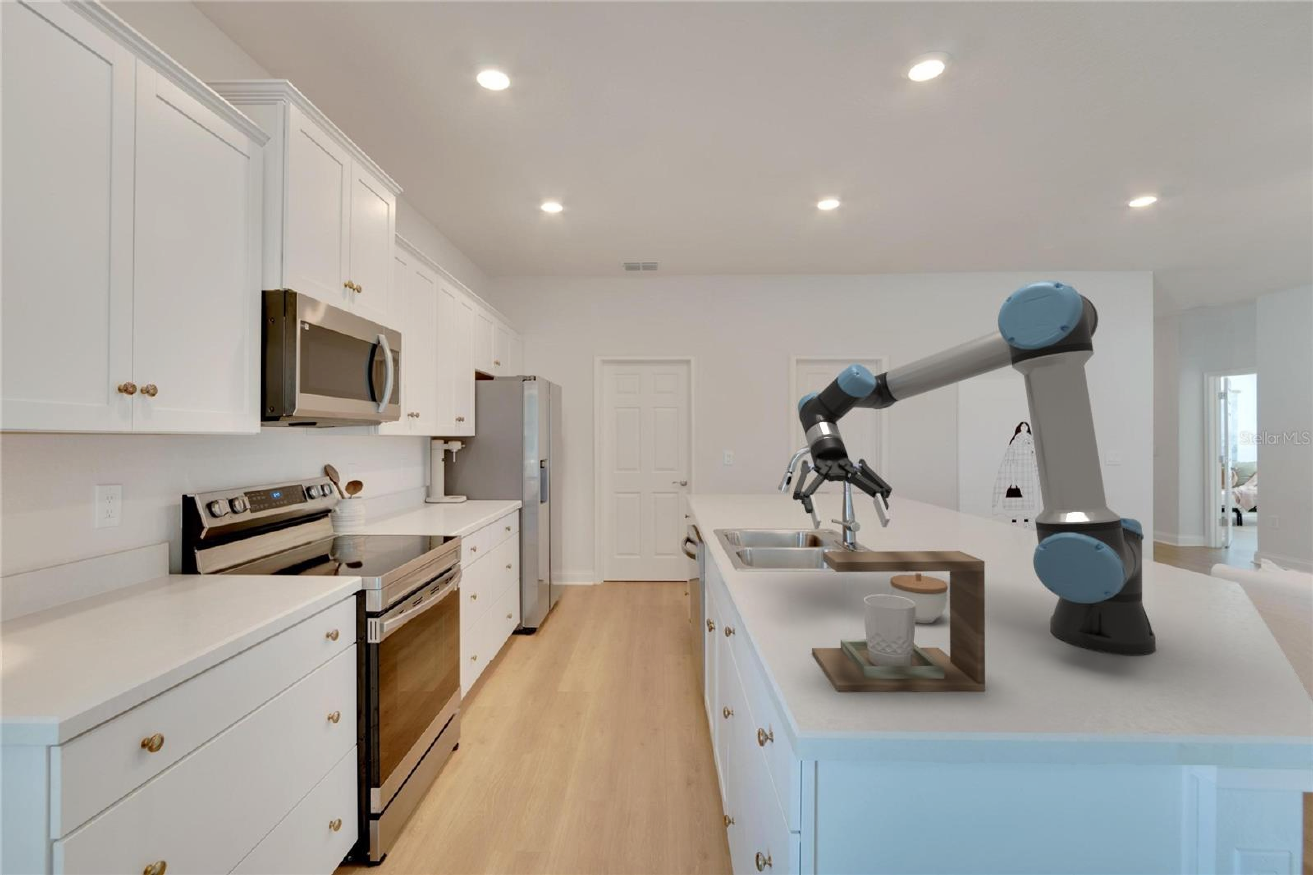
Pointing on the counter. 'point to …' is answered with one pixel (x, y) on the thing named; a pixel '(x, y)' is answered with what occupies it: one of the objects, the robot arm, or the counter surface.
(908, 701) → the counter surface
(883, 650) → the white cup
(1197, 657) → the counter surface
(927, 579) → the lidded jar
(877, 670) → the shelf unit
